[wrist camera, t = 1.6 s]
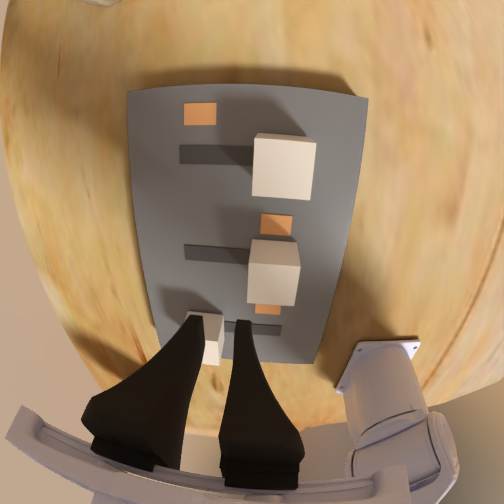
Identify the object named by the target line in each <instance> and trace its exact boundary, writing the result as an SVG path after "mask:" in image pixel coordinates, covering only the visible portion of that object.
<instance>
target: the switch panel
mask: <svg viewBox="0 0 504 504" xmlns="http://www.w3.org/2000/svg"><path fill="white" fill-rule="evenodd" d="M367 110H368V98H364V97H359V96H354V95H348V94H343V93H337V92H331V91H324V90H317V89H309V88H300V87H290V86H278V85H261V84H197V85H180V86H168V87H158V88H150V89H142V90H135V91H128V92H127V128H128V150H129V166H130V178H131V189H132V198H133V207H134V215H135V222H136V230H137V236H138V243H139V249H140V255H141V261H142V266H143V272H144V277H145V282H146V287H147V292H148V297H149V301H150V306H151V310H152V314H153V319H154V323H155V327H156V331H157V335H158V339H159V342H160V346H161V349H162V348H163V347H164V346H165V344H166V343H167V342H168V341H169V340H170V339H171V338H172V336H173V335H174V334H175V333H176V332H177V330H178V329H179V328H180V327H181V325H182V324H183V323H184V321H185V318H186V315H187V312H188V311H192V312H201V313H210V314H220V315H224V345H223V350H222V355H221V358H224V359H233V350H234V330H235V325H236V321H237V319H241V320H250V321H251V322H252V335H253V341H254V345H255V349H256V353H257V356H258V360H259V362H272V363H293V364H314V361H315V358H316V355H317V352H318V349H319V345H320V342H321V339H322V336H323V332H324V329H325V326H326V322H327V319H328V315H329V312H330V308H331V305H332V301H333V297H334V293H335V290H336V286H337V282H338V278H339V274H340V270H341V266H342V261H343V257H344V253H345V248H346V244H347V239H348V234H349V230H350V225H351V220H352V214H353V209H354V204H355V198H356V192H357V187H358V180H359V174H360V167H361V161H362V153H363V146H364V138H365V129H366V120H367ZM257 133H268V134H282V135H293V136H304V137H309V138H311V139H312V140H313V141H314V142H315V143H316V153H315V162H314V171H313V180H312V189H311V197H310V200H300V199H288V198H275V197H261V196H252V181H253V160H254V139H255V136H256V135H257ZM252 239H257V240H271V241H284V242H297V245H298V252H299V258H300V265H301V268H300V274H299V280H298V286H297V292H296V298H295V304H294V306H283V305H268V304H254V303H247V290H248V267H249V258H250V251H251V244H252Z"/></svg>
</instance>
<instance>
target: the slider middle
mask: <svg viewBox="0 0 504 504" xmlns="http://www.w3.org/2000/svg"><path fill="white" fill-rule="evenodd" d="M300 268H301V265H300V258H299V252H298V245H297V242H284V241H271V240H257V239H252V244H251V251H250V258H249V267H248V290H247V303H254V304H268V305H283V306H294V304H295V298H296V292H297V286H298V280H299V274H300Z"/></svg>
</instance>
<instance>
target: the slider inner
mask: <svg viewBox="0 0 504 504" xmlns="http://www.w3.org/2000/svg"><path fill="white" fill-rule="evenodd" d="M190 314H192V315H201V316H203V323H204V334H205V343H206V344H205V350H204V355H203V360H202V364H208V365H216V366H219V365H220V360H221V355H222V350H223V345H224V315H220V314H210V313H201V312H192V311H188V312H187V315H186V318H185V320H186V319H187V317H188V316H189V315H190ZM184 322H185V321H184Z"/></svg>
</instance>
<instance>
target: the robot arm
mask: <svg viewBox="0 0 504 504" xmlns="http://www.w3.org/2000/svg"><path fill="white" fill-rule="evenodd" d="M205 344H206V343H205V334H204V323H203V316H201V315H192V314H190V315H189V316H188V317H187V319H186V320H185V322H184V323H183V324H182V325H181V327H180V328H179V329H178V330H177V332H176V333H175V334H174V335H173V336H172V338H171V339H170V340H169V341H168V342H167V343H166V344H165V346H164V347H163V348H162V349H161V350H160V351H159V352H158V353H157V354H156V355H155V356H154V357H153V358H152V359H150V360H149V361H148V362H147V363H146V364H145V365H144V366H142V367H141V368H140V369H139V370H137V371H136V372H135V373H133V374H132V375H131V376H129V377H128V378H126V379H125V380H123V381H122V382H120V383H118V384H117V385H115V386H113V387H112V388H110V389H108V390H106V391H104V392H102V393H100V394H98V395H96V396H93V397H92V398H91V400H90V401H89V403H88V404H87V407H86V409H85V411H84V413H83V415H82V418H81V421H82V423H83V424H84V426H85V427H86V428H87V429H88V430H89V431H90V432H91V433H92V434H93V435H94V436H95V437H94V439H93V442H92V444H91V443H88V442H86V441H83V440H81V439H79V438H77V437H74V436H72V435H70V434H68V433H66V432H64V431H62V430H59V429H58V428H56V427H53V426H52V425H50V424H48V423H46V422H44V420H43V419H42V418H41V417H40V416H39V415H38V414H36V413H35V412H33V411H31V410H30V409H28V408H26V407H24V406H21V407H20V409H19V411H18V413H17V415H16V416H15V419H14V421H13V422H12V425H11V426H10V428H9V431H8V433H7V435H6V437H5V438H6V439H7V440H8V441H9V442H10V443H12V444H13V445H14V446H16V447H17V448H18V449H19V450H21V451H22V452H23V453H25V454H26V455H27V456H29V457H30V458H32V459H33V460H35V461H36V462H38V463H40V464H41V465H43V466H45V467H46V468H48V469H50V470H51V471H53V472H55V473H57V474H58V475H60V476H62V477H64V478H66V479H67V480H70V481H71V482H73V483H75V484H77V485H79V486H81V487H83V488H86V489H87V490H90V491H92V492H94V496H93V499H92V503H91V504H438V503H439V502H440V500H441V499H442V498H443V497H444V496H445V495H446V493H447V492H448V491H449V490H450V488H451V487H452V486H453V485H454V483H455V481H456V480H457V477H458V473H459V463H458V459H457V453H456V447H455V442H454V439H453V436H452V432H451V430H450V427H449V425H448V423H447V421H446V419H445V417H444V416H443V415H442V414H441V413H437V412H435V411H433V412H431V413H429V412H428V408H427V405H426V402H425V399H424V396H423V393H422V390H421V387H420V384H419V381H418V379H417V376H416V373H415V370H414V368H413V365H412V362H411V359H412V357H413V356H414V354H415V352H416V351H417V349H418V347H419V346H420V344H421V342H420V340H418V339H417V340H397V341H362V342H358V343H357V344H356V347H355V349H354V351H353V353H352V356H351V358H350V360H349V362H348V365H347V367H346V369H345V371H344V373H343V375H342V377H341V379H340V381H339V383H338V385H337V387H336V389H335V391H336V393H343V396H344V403H345V409H346V416H347V423H348V430H349V434H350V436H351V437H352V439H353V440H354V442H355V448H354V449H352V450H351V451H350V452H349V454H348V456H347V459H346V462H345V468H344V474H345V478H343V479H332V480H319V481H301V482H300V481H298V473H299V463H300V462H301V461H302V459H303V458H304V455H305V452H304V446H303V443H302V440H301V437H300V435H299V432H298V430H297V429H296V428H295V426H294V425H293V424H292V422H291V421H290V420H289V418H288V417H287V416H286V414H285V413H284V411H283V410H282V408H281V406H280V405H279V403H278V401H277V400H276V398H275V396H274V394H273V393H272V391H271V389H270V387H269V385H268V382H267V380H266V378H265V376H264V373H263V371H262V368H261V365H260V363H259V360H258V356H257V353H256V349H255V345H254V341H253V335H252V322H251V321H250V320H241V319H237V321H236V325H235V330H234V350H233V367H232V374H231V379H230V385H229V390H228V395H227V400H226V405H225V410H224V414H223V419H222V423H221V427H220V432H219V436H218V437H219V443H220V449H221V460H220V467H219V468H221V472H222V478H220V477H213V476H206V475H200V474H194V473H189V472H184V471H180V461H181V452H182V445H183V437H184V431H185V425H186V419H187V414H188V408H189V403H190V400H191V396H192V393H193V390H194V386H195V383H196V380H197V377H198V374H199V371H200V367H201V364H202V360H203V355H204V350H205ZM123 470H124V471H123ZM125 471H127V472H130V473H133V474H137V475H140V476H143V477H147V478H150V479H154V480H158V481H162V482H166V483H170V484H174V485H179V486H184V487H188V488H194V489H200V490H206V491H212V492H220V493H228V494H238V495H246V496H245V497H244V500H242V499H234V498H228V497H221V496H216V495H210V494H205V493H200V492H196V491H192V490H189V489H184V488H180V487H176V486H170V485H167V484H163V483H159V482H155V481H151V480H148V479H144V478H141V477H138V476H134V475H131V474H128V473H127V472H125ZM438 472H440V473H439V474H437V475H436V476H434V477H431V478H429V479H427V480H424V481H422V482H419V483H417V484H415V485H412V486H409V485H410V484H413V483H415V482H418V481H420V480H422V479H425V478H427V477H429V476H432V475H434V474H436V473H438Z"/></svg>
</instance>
